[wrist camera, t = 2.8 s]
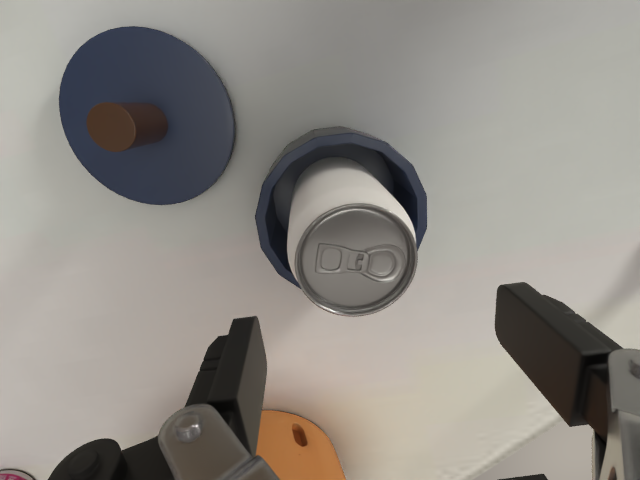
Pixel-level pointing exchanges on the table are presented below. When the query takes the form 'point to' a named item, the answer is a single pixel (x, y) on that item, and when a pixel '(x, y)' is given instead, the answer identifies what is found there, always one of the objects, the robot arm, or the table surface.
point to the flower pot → (296, 448)
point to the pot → (323, 144)
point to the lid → (147, 115)
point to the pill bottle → (13, 475)
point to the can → (349, 239)
